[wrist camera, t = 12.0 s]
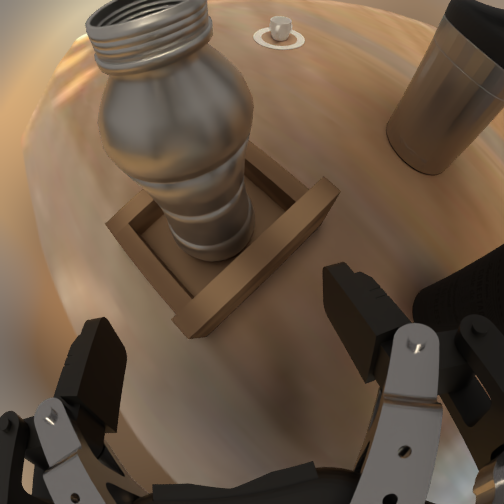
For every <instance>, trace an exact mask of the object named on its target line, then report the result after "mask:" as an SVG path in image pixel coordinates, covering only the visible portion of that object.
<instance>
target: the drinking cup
mask: <svg viewBox="0 0 504 504" xmlns="http://www.w3.org/2000/svg"><path fill="white" fill-rule="evenodd" d="M472 314H477V315H482V316H484V317H486V318H488V319H489V320H490V321H491V322H492V323H493V324H494V325H495V326H496V327H497V329H498V330H499V331H500V332H501V333H502V334H503V336H504V244H503V245H501V246H500V247H498V248H496V249H495V250H493V251H492V252H490V253H488V254H487V255H485V256H483V257H482V258H480V259H478V260H476V261H475V262H473V263H471V264H470V265H468V266H466V267H464V268H462V269H461V270H459V271H457V272H455V273H453V274H451V275H450V276H448V277H446V278H444V279H442V280H440V281H438V282H436V283H434V284H432V285H430V286H428V287H426V288H424V289H423V290H421V291H420V292H419V294H418V295H417V297H416V299H415V301H414V305H413V318H414V322H415V323H419V324H423V325H426V326H428V327H430V328H431V329H432V330H433V331H434V332H435V333H437V332H444V331H450V330H456V329H458V328H459V326H460V323H461V321H462V319H463V318H464V317H466V316H468V315H472Z"/></svg>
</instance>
